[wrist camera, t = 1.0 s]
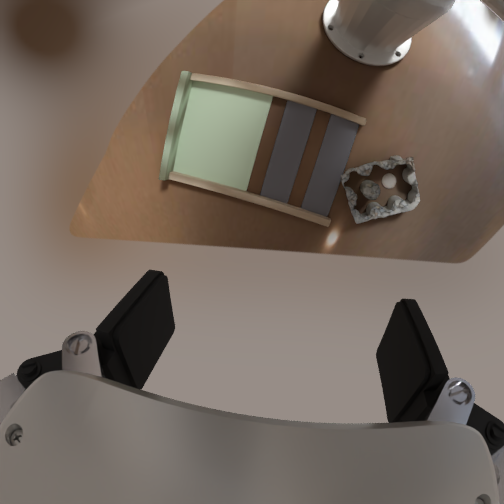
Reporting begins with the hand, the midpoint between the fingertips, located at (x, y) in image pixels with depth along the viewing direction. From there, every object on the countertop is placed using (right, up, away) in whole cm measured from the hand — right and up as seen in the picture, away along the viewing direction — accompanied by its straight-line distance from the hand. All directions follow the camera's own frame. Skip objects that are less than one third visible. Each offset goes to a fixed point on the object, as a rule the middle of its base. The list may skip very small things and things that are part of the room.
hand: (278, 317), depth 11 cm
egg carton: (+17, +12, +25) cm, 32 cm away
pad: (-6, +19, +25) cm, 32 cm away
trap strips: (+7, +15, +25) cm, 30 cm away
